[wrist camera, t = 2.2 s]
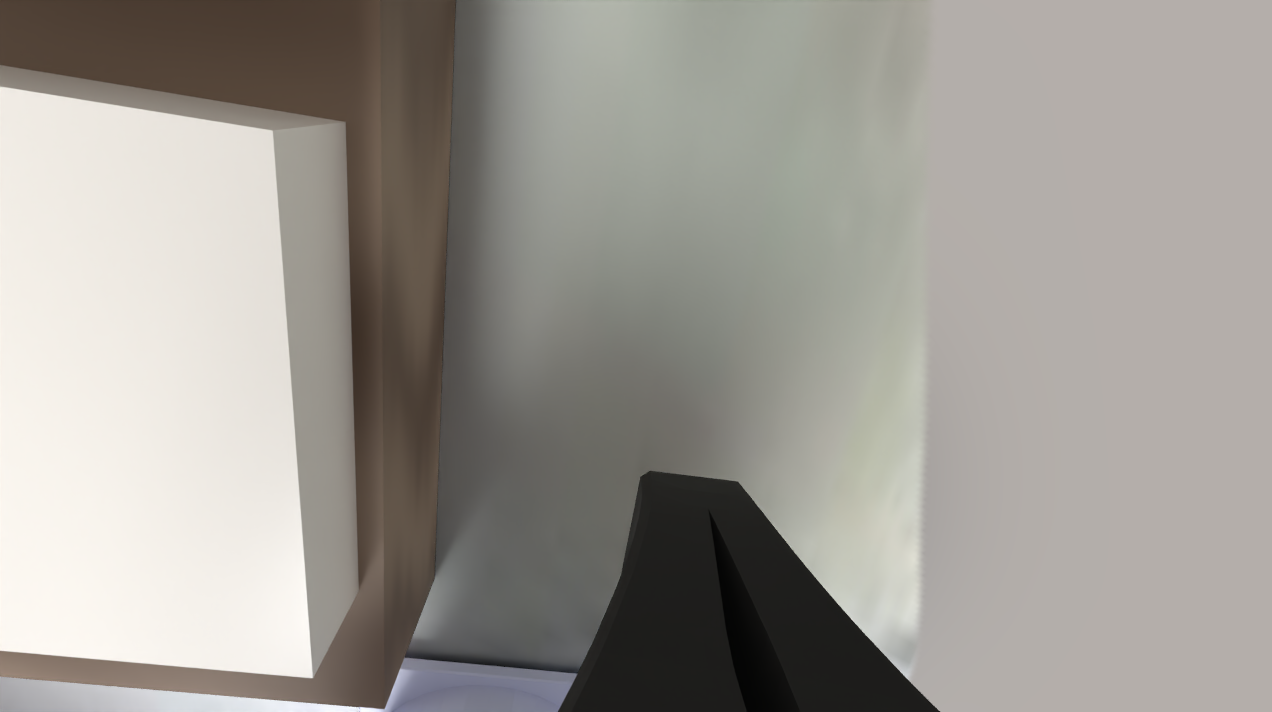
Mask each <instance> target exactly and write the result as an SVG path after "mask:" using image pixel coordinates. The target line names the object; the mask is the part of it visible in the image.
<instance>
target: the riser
mask: <svg viewBox="0 0 1272 712" xmlns="http://www.w3.org/2000/svg"><path fill="white" fill-rule="evenodd" d="M455 7H456V0H0V65H3V66H9V67H15V68H21V69H27V70H33V71H39V72H46V73H52V74H58V75H64V76H70V77H76V78H82V79H88V80H94V81H100V82H106V83H112V84H118V85H124V86H130V87H136V88H143V89H149V90H155V91H161V92H167V93H173V94H179V95H185V96H191V97H197V98H203V99H209V100H215V101H221V102H227V103H234V104H240V105H246V106H252V107H258V108H264V109H270V110H276V111H282V112H288V113H294V114H300V115H306V116H312V117H318V118H324V119H331V120H337V121H343V122H346V155H347V191H348V226H349V262H350V297H351V333H352V368H353V404H354V439H355V475H356V510H357V546H358V581H359V591H358V593H357V595H356V597H355V599H354V601H353V603H352V605H351V607H350V609H349V610H348V612H347V614H346V616H345V618H344V620H343V622H342V624H341V626H340V628H339V630H338V631H337V633H336V635H335V637H334V639H333V641H332V643H331V645H330V647H329V649H328V651H327V653H326V654H325V656H324V658H323V660H322V662H321V664H320V666H319V668H318V670H317V672H316V674H315V676H314V677H313V678H303V677H291V676H280V675H269V674H258V673H246V672H235V671H224V670H212V669H201V668H190V667H179V666H167V665H156V664H145V663H134V662H122V661H111V660H100V659H88V658H77V657H66V656H55V655H43V654H32V653H21V652H9V651H0V677H12V678H24V679H35V680H47V681H59V682H70V683H82V684H94V685H106V686H117V687H129V688H141V689H153V690H164V691H176V692H188V693H199V694H211V695H223V696H235V697H246V698H258V699H270V700H281V701H293V702H305V703H317V704H328V705H340V706H352V707H364V708H375V709H385V707H386V705H387V702H388V699H389V697H390V694H391V691H392V689H393V686H394V684H395V681H396V678H397V676H398V673H399V670H400V668H401V665H402V663H403V660H404V657H405V655H406V652H407V649H408V647H409V644H410V642H411V639H412V636H413V634H414V631H415V628H416V626H417V623H418V621H419V618H420V615H421V613H422V610H423V607H424V605H425V602H426V600H427V597H428V594H429V592H430V589H431V586H432V584H433V581H434V576H435V549H436V522H437V495H438V468H439V441H440V414H441V386H442V359H443V332H444V305H445V278H446V251H447V224H448V197H449V169H450V142H451V115H452V88H453V61H454V34H455Z"/></svg>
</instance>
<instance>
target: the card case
mask: <svg viewBox="0 0 1272 712" xmlns="http://www.w3.org/2000/svg"><path fill="white" fill-rule="evenodd" d="M358 591H359V581H358V546H357V510H356V475H355V439H354V404H353V368H352V333H351V297H350V262H349V226H348V191H347V155H346V122H343V121H337V120H331V119H324V118H318V117H312V116H306V115H300V114H294V113H288V112H282V111H276V110H270V109H264V108H258V107H252V106H246V105H240V104H234V103H227V102H221V101H215V100H209V99H203V98H197V97H191V96H185V95H179V94H173V93H167V92H161V91H155V90H149V89H143V88H136V87H130V86H124V85H118V84H112V83H106V82H100V81H94V80H88V79H82V78H76V77H70V76H64V75H58V74H52V73H46V72H39V71H33V70H27V69H21V68H15V67H9V66H3V65H0V651H9V652H21V653H32V654H43V655H55V656H66V657H77V658H88V659H100V660H111V661H122V662H134V663H145V664H156V665H167V666H179V667H190V668H201V669H212V670H224V671H235V672H246V673H258V674H269V675H280V676H291V677H303V678H313V677H314V676H315V674H316V672H317V670H318V668H319V666H320V664H321V662H322V660H323V658H324V656H325V654H326V653H327V651H328V649H329V647H330V645H331V643H332V641H333V639H334V637H335V635H336V633H337V631H338V630H339V628H340V626H341V624H342V622H343V620H344V618H345V616H346V614H347V612H348V610H349V609H350V607H351V605H352V603H353V601H354V599H355V597H356V595H357V593H358Z"/></svg>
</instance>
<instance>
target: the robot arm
mask: <svg viewBox="0 0 1272 712" xmlns="http://www.w3.org/2000/svg"><path fill="white" fill-rule="evenodd" d="M359 712H940V711H938V709H937V708H935V706H933V705H932V704H931V703H930V702H929V701H928V700H927V699H926V698H925V697H924V696H923V695H922V694H921V693H920V692H919V691H918V690H917V689H916V688H915V687H914V686H913V685H912V684H911V683H910V682H909V680H908V679H907V678H906V677H905V676H904V675H903V674H902V673H901V672H900V671H899V670H898V669H897V668H896V667H895V666H894V665H893V664H892V663H891V662H890V660H889V659H888V658H887V657H886V656H885V655H884V654H883V653H882V652H881V651H880V650H879V649H878V648H877V647H876V646H875V644H874V643H873V642H872V641H871V640H870V639H869V638H868V637H867V636H866V635H865V634H864V633H863V632H862V631H861V630H860V628H859V627H858V626H857V625H856V624H855V623H854V622H853V621H852V620H851V618H850V617H849V616H848V615H847V614H846V613H845V612H844V611H843V609H842V608H841V607H840V606H839V605H838V604H837V603H836V601H835V600H834V599H833V598H832V597H831V596H830V594H829V593H828V592H827V591H826V590H825V589H824V588H823V586H822V585H821V584H820V583H819V582H818V580H817V579H816V578H815V577H814V576H813V574H812V573H811V572H810V571H809V570H808V568H807V567H806V566H805V565H804V564H803V562H802V561H801V560H800V559H799V558H798V556H797V555H796V554H795V553H794V551H793V550H792V549H791V548H790V546H789V545H788V544H787V543H786V541H785V540H784V539H783V538H782V536H781V535H780V534H779V533H778V531H777V530H776V529H775V528H774V526H773V525H772V524H771V523H770V521H769V520H768V519H767V518H766V516H765V515H764V514H763V512H762V511H761V510H760V509H759V507H758V506H757V505H756V504H755V502H754V501H753V500H752V499H751V497H750V496H749V495H748V494H747V492H746V491H745V490H744V489H743V487H742V486H741V485H740V484H739V483H738V482H736V481H728V480H720V479H712V478H704V477H695V476H687V475H679V474H671V473H663V472H655V471H649V472H648V473H646V474H645V475H643V476H641V477H640V482H639V487H638V492H637V497H636V502H635V507H634V512H633V518H632V523H631V528H630V533H629V538H628V543H627V548H626V553H625V558H624V563H623V568H622V573H621V577H620V580H619V582H618V585H617V587H616V590H615V592H614V594H613V597H612V599H611V601H610V604H609V606H608V608H607V611H606V613H605V615H604V618H603V620H602V622H601V625H600V627H599V629H598V632H597V634H596V636H595V639H594V641H593V643H592V645H591V647H590V649H589V651H588V653H587V655H586V657H585V660H584V662H583V664H582V666H581V668H580V670H579V672H578V674H576V673H565V672H554V671H544V670H533V669H522V668H511V667H500V666H490V665H479V664H468V663H457V662H446V661H436V660H425V659H414V658H404V660H403V663H402V665H401V668H400V670H399V673H398V676H397V678H396V681H395V684H394V686H393V689H392V691H391V694H390V697H389V699H388V702H387V705H386V707H385V709H375V708H364V707H359Z"/></svg>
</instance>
